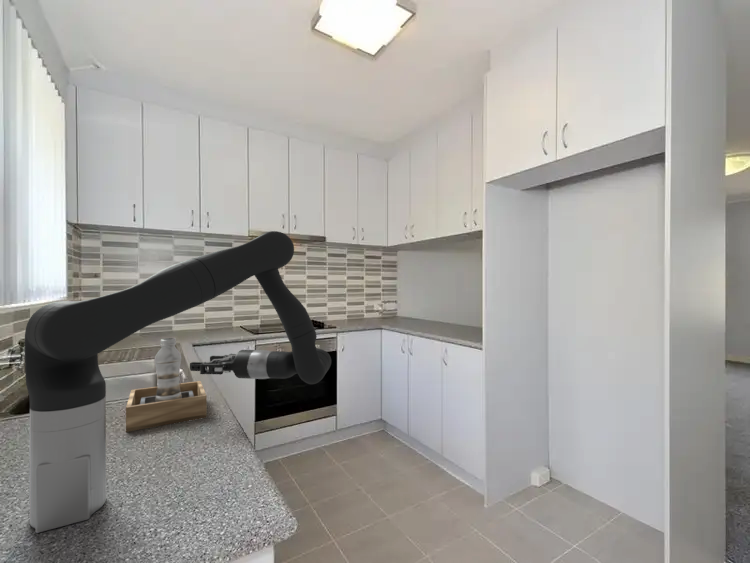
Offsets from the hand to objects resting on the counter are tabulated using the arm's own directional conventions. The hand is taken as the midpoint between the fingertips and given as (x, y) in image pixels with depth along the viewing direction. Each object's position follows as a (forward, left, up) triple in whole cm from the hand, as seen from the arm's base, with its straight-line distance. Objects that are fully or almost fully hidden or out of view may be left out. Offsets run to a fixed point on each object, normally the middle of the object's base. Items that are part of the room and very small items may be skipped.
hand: (201, 362), depth 99 cm
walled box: (+7, +8, -14) cm, 18 cm away
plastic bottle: (+6, +8, -14) cm, 17 cm away
